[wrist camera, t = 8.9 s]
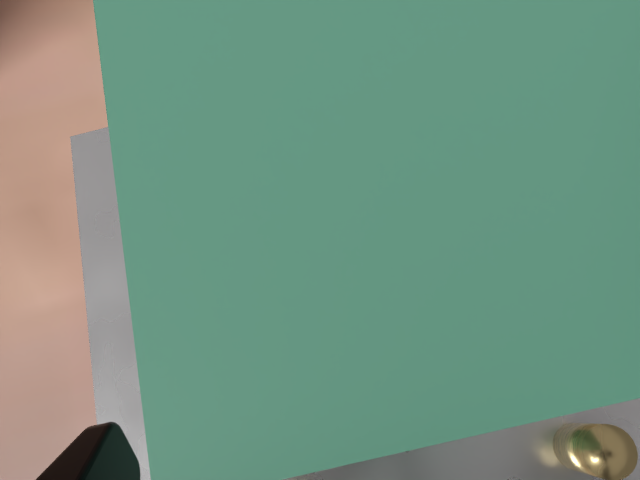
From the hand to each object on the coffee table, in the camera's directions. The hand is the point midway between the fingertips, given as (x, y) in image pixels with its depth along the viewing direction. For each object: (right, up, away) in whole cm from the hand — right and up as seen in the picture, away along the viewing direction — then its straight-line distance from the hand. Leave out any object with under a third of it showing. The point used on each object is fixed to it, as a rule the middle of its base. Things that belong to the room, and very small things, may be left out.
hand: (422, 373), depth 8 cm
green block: (+1, -1, +9) cm, 9 cm away
